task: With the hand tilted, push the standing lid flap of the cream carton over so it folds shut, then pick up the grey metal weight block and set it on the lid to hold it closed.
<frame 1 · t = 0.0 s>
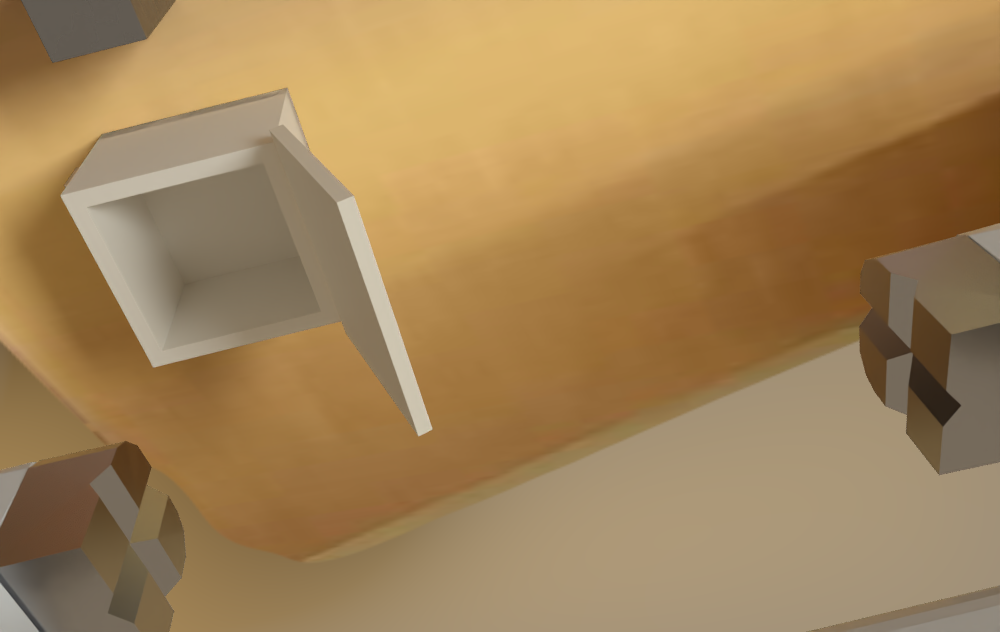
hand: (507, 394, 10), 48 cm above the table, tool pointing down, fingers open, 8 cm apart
lid flap: (349, 276, 47), point 15 cm above the table, hinge at 110.0°
carton: (230, 195, 59), on the table
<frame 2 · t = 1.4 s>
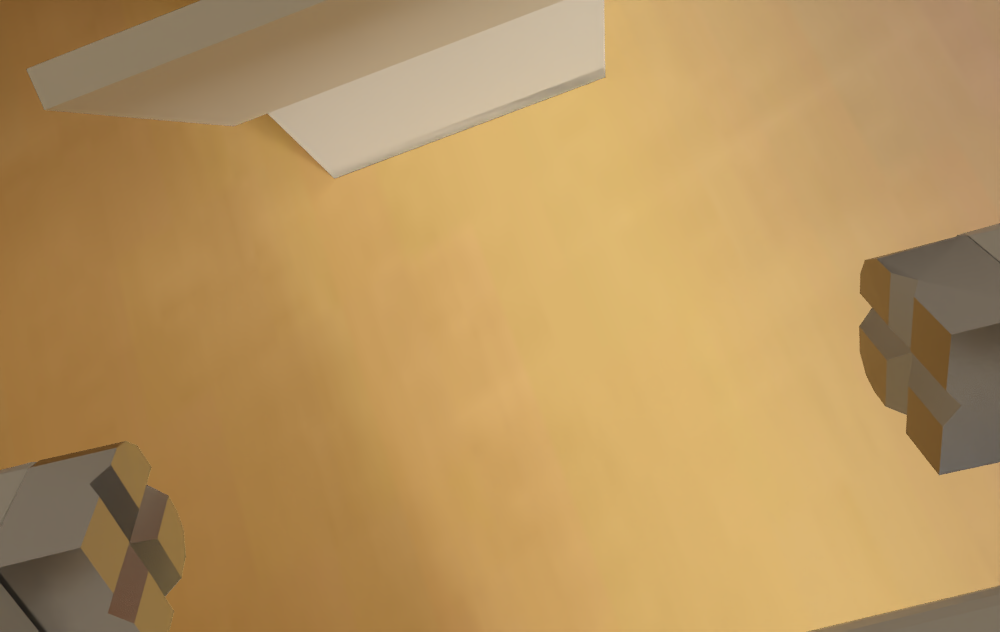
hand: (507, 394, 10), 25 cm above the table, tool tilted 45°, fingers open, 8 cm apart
lid flap: (406, 8, 22), point 15 cm above the table, hinge at 110.0°
carton: (424, 2, 38), on the table
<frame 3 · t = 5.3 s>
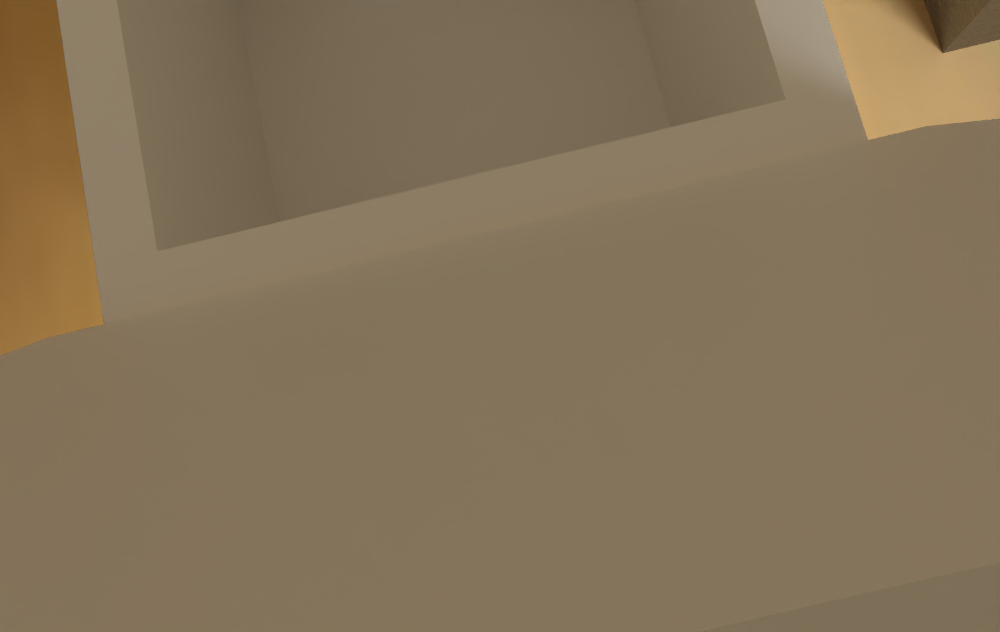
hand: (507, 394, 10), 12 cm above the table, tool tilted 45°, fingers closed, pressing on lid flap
lid flap: (493, 326, 8), point 15 cm above the table, hinge at 109.9°, touching gripper
carton: (460, 113, 24), on the table
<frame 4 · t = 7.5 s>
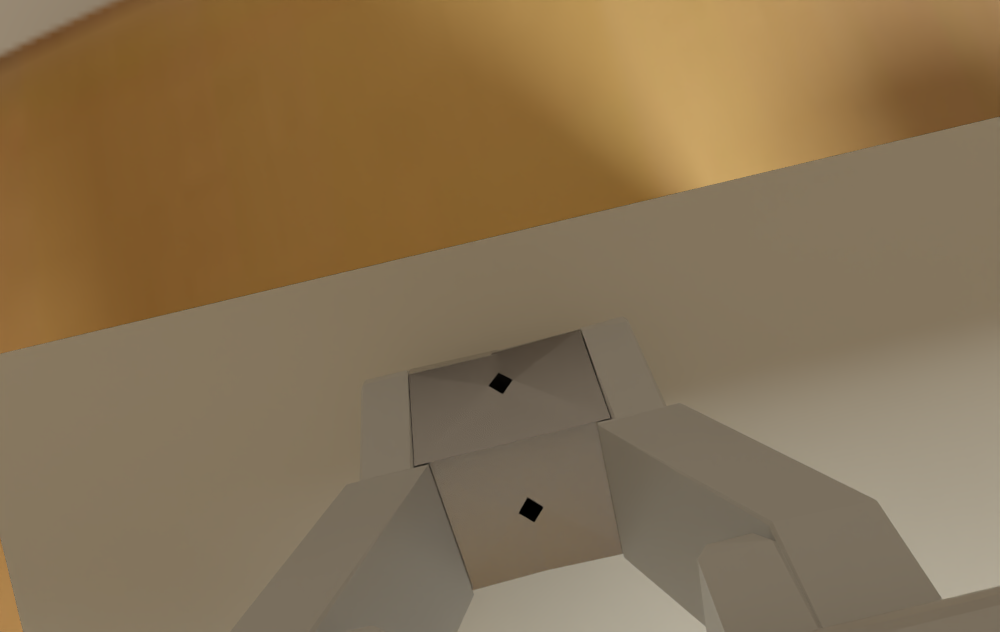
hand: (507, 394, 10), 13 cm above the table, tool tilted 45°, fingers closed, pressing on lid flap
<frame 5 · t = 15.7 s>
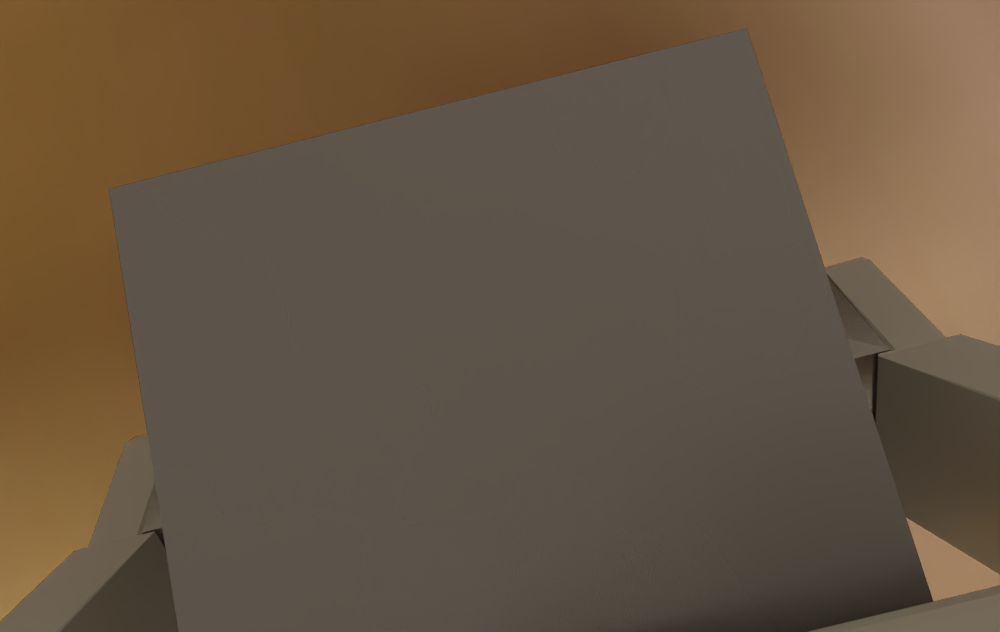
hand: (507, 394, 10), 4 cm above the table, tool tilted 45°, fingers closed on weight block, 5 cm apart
weight block: (532, 464, 14), on the table, touching gripper
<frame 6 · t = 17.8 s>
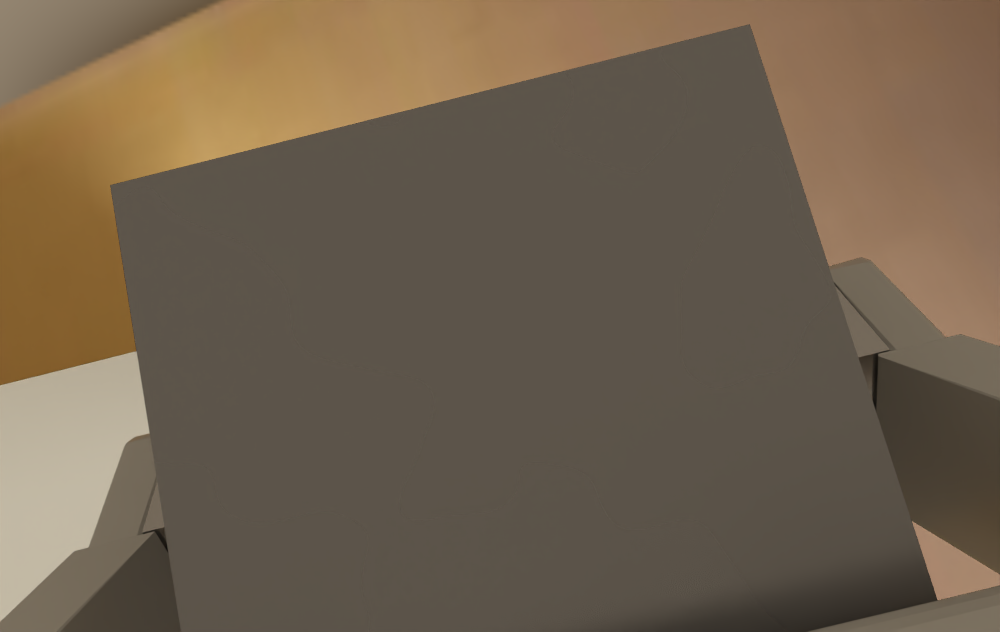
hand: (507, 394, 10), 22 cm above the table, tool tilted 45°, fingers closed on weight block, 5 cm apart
weight block: (533, 462, 14), point 17 cm above the table, touching gripper
when the fingers open (16 cm above the table, at t = 20.1 s): weight block stays where it is, resting on lid flap.
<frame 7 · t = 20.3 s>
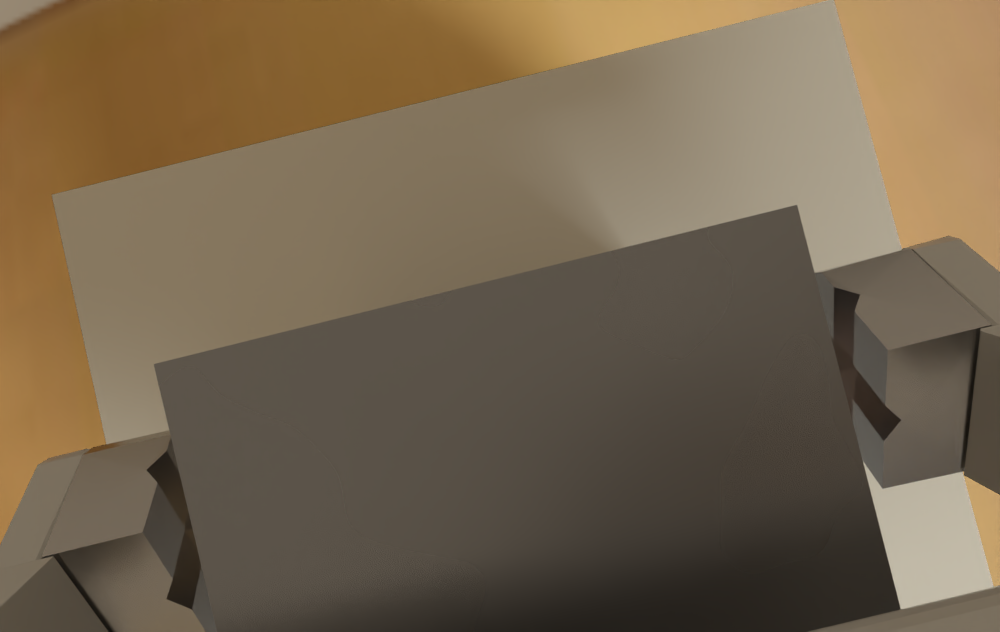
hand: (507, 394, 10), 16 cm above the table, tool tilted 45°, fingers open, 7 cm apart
weight block: (533, 459, 15), point 11 cm above the table, tilted 10°, touching lid flap
lid flap: (525, 442, 15), point 10 cm above the table, hinge at 8.4°, touching weight block
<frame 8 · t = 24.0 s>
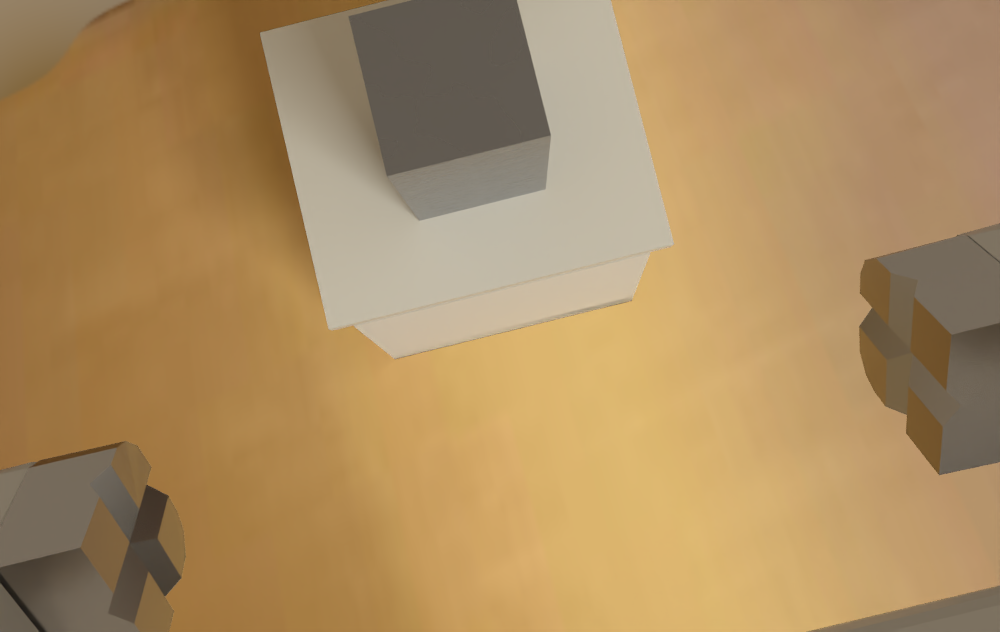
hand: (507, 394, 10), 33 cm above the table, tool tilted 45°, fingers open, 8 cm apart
weight block: (467, 142, 35), point 11 cm above the table, tilted 8°, touching lid flap
lid flap: (464, 139, 35), point 10 cm above the table, hinge at 7.9°, touching weight block
carton: (485, 216, 45), on the table
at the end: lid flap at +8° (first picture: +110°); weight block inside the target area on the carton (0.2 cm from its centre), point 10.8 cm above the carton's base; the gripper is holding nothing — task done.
